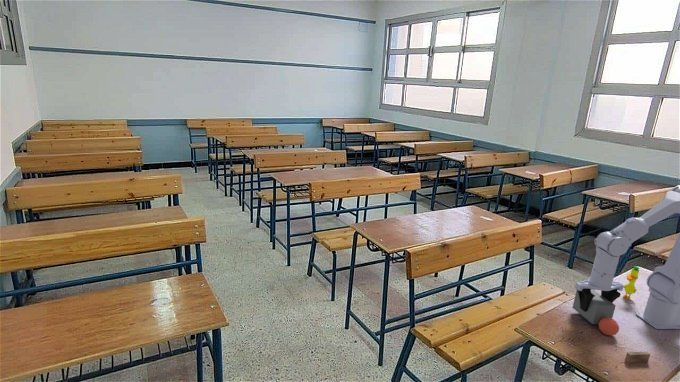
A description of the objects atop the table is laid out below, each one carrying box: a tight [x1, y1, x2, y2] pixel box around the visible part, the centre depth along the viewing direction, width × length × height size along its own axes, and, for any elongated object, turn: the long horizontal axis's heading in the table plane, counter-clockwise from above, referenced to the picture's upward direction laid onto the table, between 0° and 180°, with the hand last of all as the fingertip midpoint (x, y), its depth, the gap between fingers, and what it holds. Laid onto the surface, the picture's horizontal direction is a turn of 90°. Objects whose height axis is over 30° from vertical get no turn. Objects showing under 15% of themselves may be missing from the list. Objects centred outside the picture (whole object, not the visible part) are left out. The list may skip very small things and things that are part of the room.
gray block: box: [572, 290, 617, 325], centre depth 120 cm, size 6×9×6 cm, turn 6°
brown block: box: [624, 351, 651, 364], centre depth 103 cm, size 6×1×2 cm, turn 96°
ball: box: [598, 318, 620, 337], centre depth 114 cm, size 5×5×5 cm
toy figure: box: [622, 265, 640, 300], centre depth 134 cm, size 7×4×12 cm, turn 121°
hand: (592, 309), depth 120 cm, fingers closed on gray block, 6 cm apart
